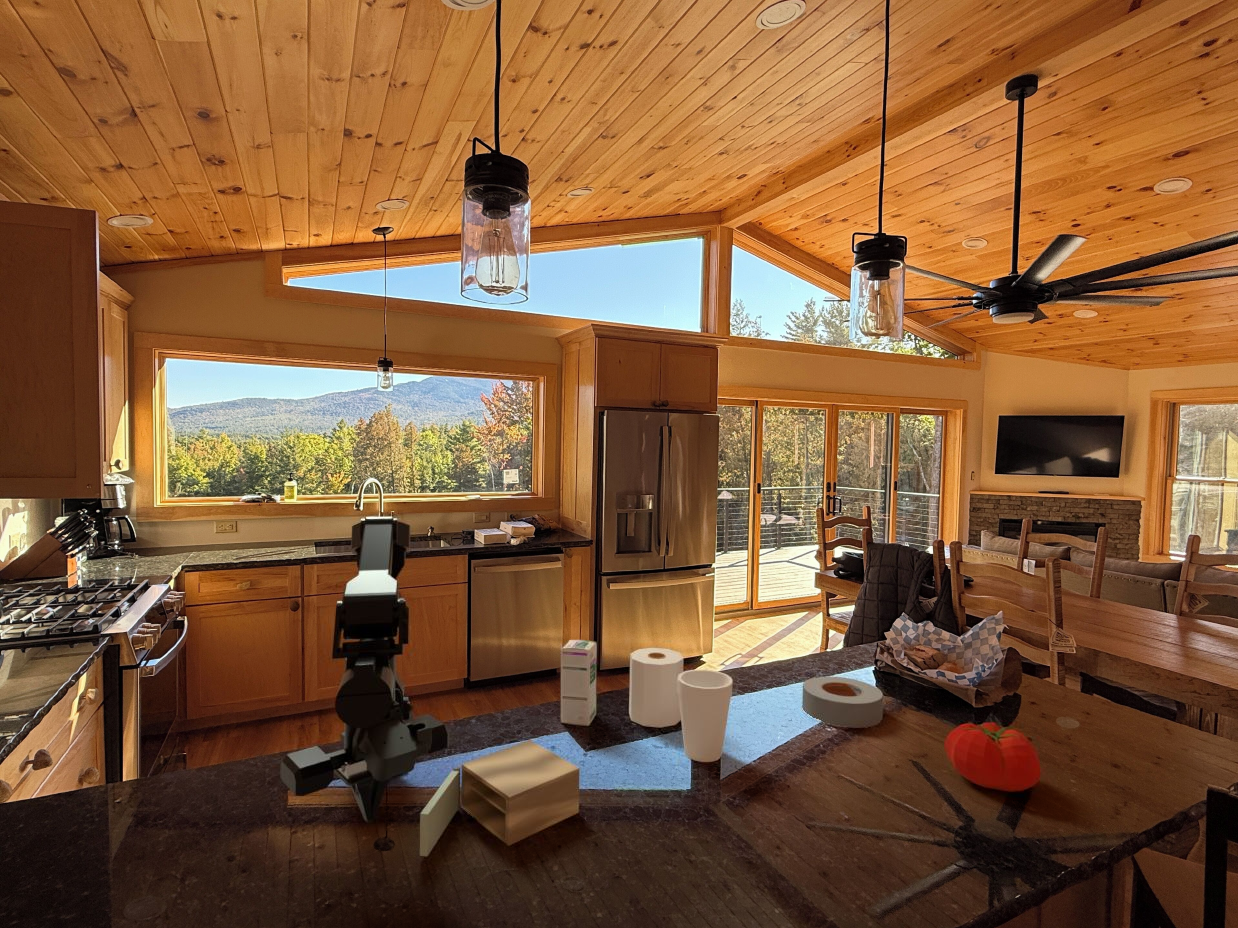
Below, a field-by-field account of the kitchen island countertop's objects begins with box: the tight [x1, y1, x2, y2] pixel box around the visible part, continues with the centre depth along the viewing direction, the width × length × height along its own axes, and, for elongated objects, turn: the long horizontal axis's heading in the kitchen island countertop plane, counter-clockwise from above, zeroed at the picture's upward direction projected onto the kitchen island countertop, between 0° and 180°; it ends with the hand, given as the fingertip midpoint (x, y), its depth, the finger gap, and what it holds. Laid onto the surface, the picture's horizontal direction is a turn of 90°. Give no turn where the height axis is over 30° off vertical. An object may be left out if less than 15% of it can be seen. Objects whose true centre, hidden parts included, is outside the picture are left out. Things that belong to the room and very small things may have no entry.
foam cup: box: [677, 669, 733, 763], centre depth 116 cm, size 10×9×13 cm
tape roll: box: [801, 676, 884, 727], centre depth 135 cm, size 15×15×5 cm
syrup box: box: [560, 639, 598, 727], centre depth 129 cm, size 6×6×14 cm
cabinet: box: [460, 739, 580, 847], centre depth 97 cm, size 12×12×6 cm
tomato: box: [944, 722, 1042, 793], centre depth 108 cm, size 14×13×9 cm
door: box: [419, 766, 461, 857], centre depth 91 cm, size 12×1×6 cm, turn 174°
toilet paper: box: [628, 647, 684, 729], centre depth 131 cm, size 10×10×12 cm
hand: (369, 819), depth 82 cm, fingers closed
